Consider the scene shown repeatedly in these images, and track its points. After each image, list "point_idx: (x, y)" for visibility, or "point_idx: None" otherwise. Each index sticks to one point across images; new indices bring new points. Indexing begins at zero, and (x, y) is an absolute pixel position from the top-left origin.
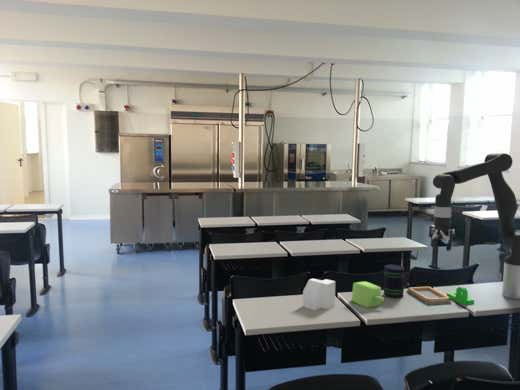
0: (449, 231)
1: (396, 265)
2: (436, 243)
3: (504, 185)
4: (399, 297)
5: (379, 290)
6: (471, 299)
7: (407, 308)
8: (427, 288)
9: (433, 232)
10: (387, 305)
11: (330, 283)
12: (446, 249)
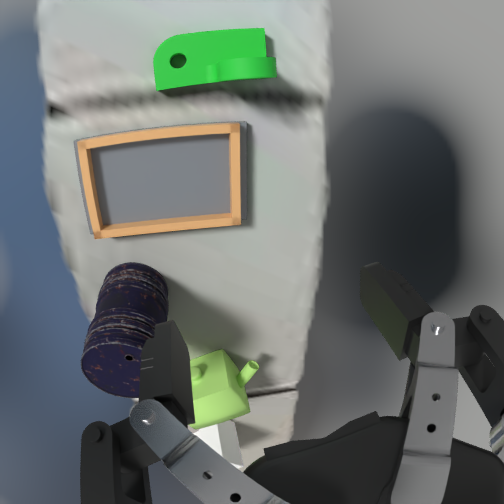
0: (500, 457)
1: (90, 356)
2: (175, 354)
3: None
4: (166, 285)
5: (232, 384)
6: (256, 34)
7: (261, 293)
8: (88, 151)
9: (126, 497)
10: (228, 333)
11: (236, 464)
12: (368, 306)
